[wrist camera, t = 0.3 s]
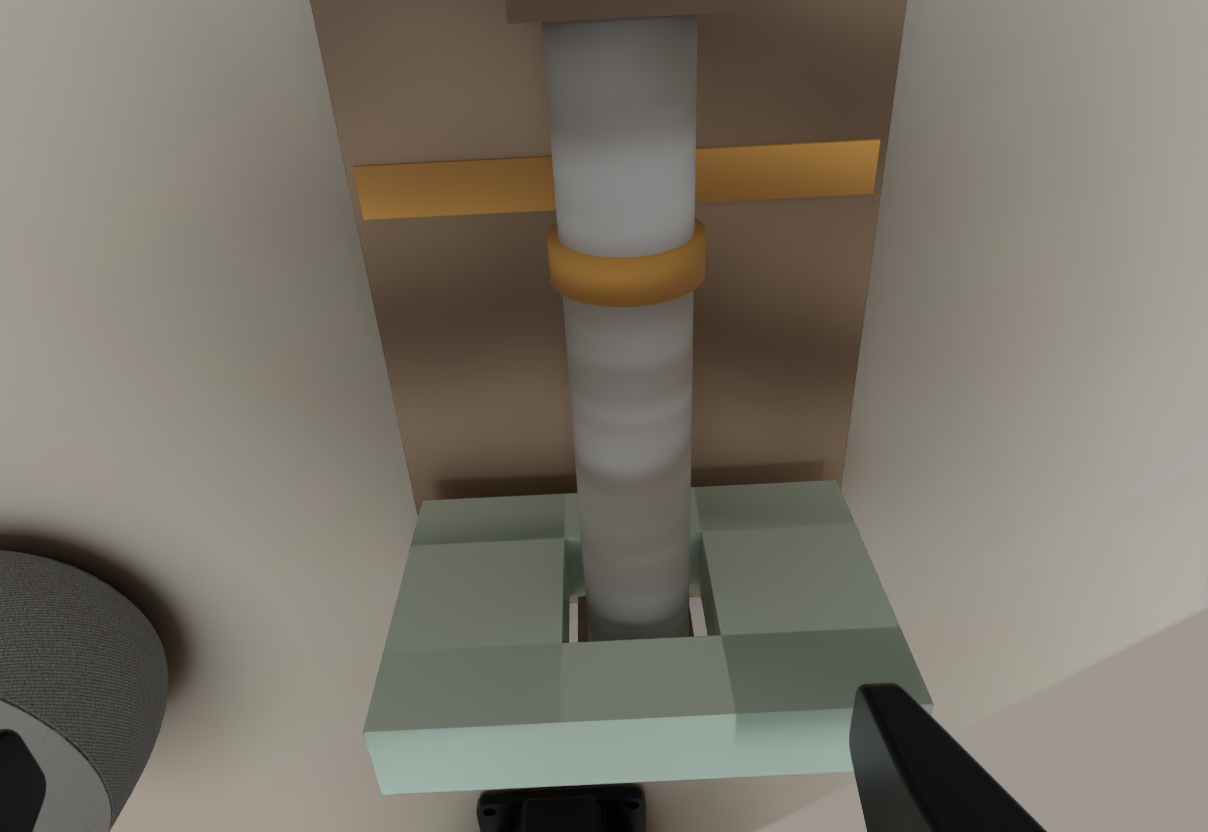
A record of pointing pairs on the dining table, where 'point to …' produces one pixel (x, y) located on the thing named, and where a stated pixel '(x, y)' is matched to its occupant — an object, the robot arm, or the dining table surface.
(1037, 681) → the dining table surface
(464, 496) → the pipe stand
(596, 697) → the collar
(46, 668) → the smart speaker
